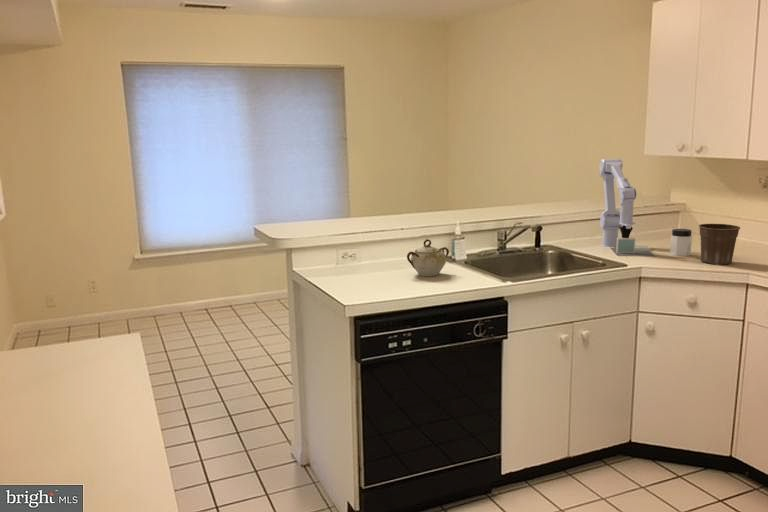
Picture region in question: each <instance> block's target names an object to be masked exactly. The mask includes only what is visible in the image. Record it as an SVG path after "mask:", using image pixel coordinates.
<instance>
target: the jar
mask: <svg viewBox="0 0 768 512" xmlns="http://www.w3.org/2000/svg"><path fill="white" fill-rule="evenodd" d="M692 242H693V236H692V229H688V228H673V229H672V231H671V235H670V244H669V245H670V247H669V255H672V256H677V257H680V256H681V257H687V256H691V255H692V254H691V253H692V244H693V243H692Z"/></svg>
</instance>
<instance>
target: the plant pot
mask: <svg viewBox="0 0 768 512" xmlns="http://www.w3.org/2000/svg"><path fill="white" fill-rule="evenodd" d="M698 228H699V235H700V261H701V262H702V263H707V264H708V263H709V264H710V265H714V264H726V265H731V264H732V263H733V257H734V252H735V247H736V242H737V238H738V235H739V231H740V229H741V226H739V225H736V224H735V225H734V224H727V223H702V224H698ZM709 264H708V265H709Z"/></svg>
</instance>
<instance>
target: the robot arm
mask: <svg viewBox="0 0 768 512" xmlns="http://www.w3.org/2000/svg"><path fill="white" fill-rule="evenodd" d="M623 167H624V165H623V160H622V159H621V158H614V159H613V158H609V159H608V158H606V159H604V158H602V159H601V160H600V162H599V167H598V169H599V176H600V177H601V178H602V180H603V195H604V205H605V210H604V211H602V212H601V213H600V216H599V217H600V218H599V226H600V227H601V229H602V232H603V233H602V243H603V244H601V243H600V245H601V246H602V247H604V248H617V238H619V230H620V233H621V238H630V234H631V232H632V231H633V229H634V227H632V225H636V222H634V203H635V200H636V198H637V190H636V187H633V186H631V183H630V182H629V179H628V177H625V176H624V173H623ZM614 180H616V181H614ZM614 183H615V184H614ZM615 185H616V187H617V189H618V199H619V204H620V211H619V210H617V207H616V205H617V204H616V194H615V193H616V192H615Z"/></svg>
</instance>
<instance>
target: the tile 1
mask: <svg viewBox="0 0 768 512" xmlns="http://www.w3.org/2000/svg"><path fill="white" fill-rule="evenodd" d="M635 246H636V238H635V237H629V238H622V237H618V238H617V247H616V248H617V249H616V252H617V253H635Z"/></svg>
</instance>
